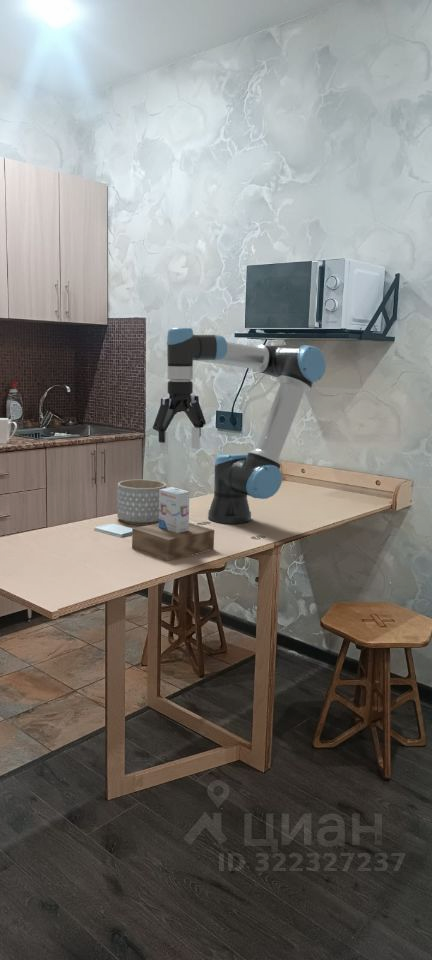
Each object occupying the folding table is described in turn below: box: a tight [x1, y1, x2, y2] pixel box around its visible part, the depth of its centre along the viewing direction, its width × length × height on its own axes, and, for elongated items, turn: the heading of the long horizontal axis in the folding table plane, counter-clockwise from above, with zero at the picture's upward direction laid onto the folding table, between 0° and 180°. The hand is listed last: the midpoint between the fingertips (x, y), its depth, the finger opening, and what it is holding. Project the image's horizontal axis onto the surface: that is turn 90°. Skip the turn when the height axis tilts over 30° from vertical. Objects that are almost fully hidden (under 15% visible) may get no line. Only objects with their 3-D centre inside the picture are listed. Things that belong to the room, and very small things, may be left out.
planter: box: [116, 479, 167, 526], centre depth 239 cm, size 16×16×13 cm
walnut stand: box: [131, 522, 215, 562], centre depth 206 cm, size 18×16×6 cm
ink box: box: [158, 486, 190, 533], centre depth 205 cm, size 9×5×12 cm, turn 45°
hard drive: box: [93, 523, 133, 538], centre depth 224 cm, size 2×8×12 cm
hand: (180, 450), depth 214 cm, fingers open, 13 cm apart
